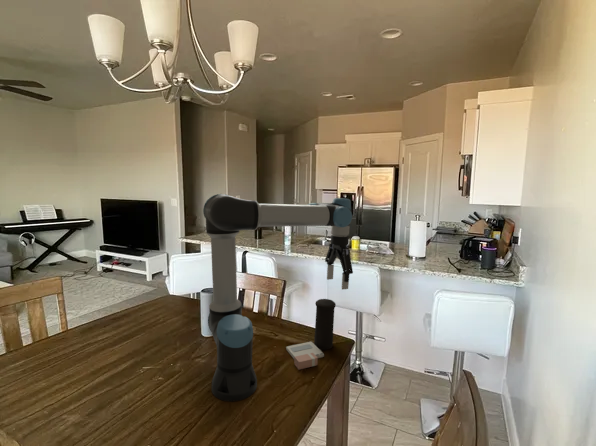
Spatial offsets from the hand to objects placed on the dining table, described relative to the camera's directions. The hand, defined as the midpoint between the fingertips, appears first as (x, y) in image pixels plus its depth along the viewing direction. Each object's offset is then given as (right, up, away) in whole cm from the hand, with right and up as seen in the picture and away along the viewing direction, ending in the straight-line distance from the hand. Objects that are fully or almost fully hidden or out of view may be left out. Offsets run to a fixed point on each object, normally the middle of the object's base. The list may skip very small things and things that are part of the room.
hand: (337, 283), depth 138 cm
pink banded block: (-14, -29, -14) cm, 35 cm away
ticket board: (-14, -28, -5) cm, 31 cm away
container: (-6, -27, +2) cm, 28 cm away
